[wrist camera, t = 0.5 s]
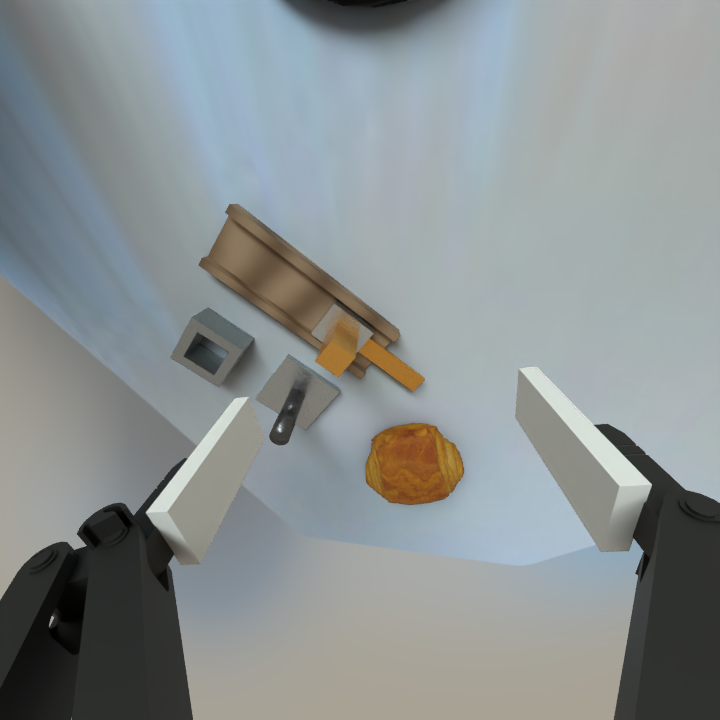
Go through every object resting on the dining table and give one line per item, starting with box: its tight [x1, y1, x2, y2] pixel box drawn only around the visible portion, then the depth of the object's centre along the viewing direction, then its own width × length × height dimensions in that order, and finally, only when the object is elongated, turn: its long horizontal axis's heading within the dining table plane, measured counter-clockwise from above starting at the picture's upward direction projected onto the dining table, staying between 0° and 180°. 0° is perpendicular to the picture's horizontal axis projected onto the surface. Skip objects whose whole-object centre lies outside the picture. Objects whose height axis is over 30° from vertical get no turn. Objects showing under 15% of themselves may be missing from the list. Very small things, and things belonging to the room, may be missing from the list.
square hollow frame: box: [170, 308, 254, 387], centre depth 41 cm, size 7×7×4 cm
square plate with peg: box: [256, 354, 340, 445], centre depth 41 cm, size 9×9×10 cm
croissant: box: [366, 423, 464, 505], centre depth 48 cm, size 14×16×8 cm
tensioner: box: [311, 299, 425, 391], centre depth 37 cm, size 16×5×9 cm, turn 52°
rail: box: [199, 204, 400, 379], centre depth 38 cm, size 24×8×2 cm, turn 52°
